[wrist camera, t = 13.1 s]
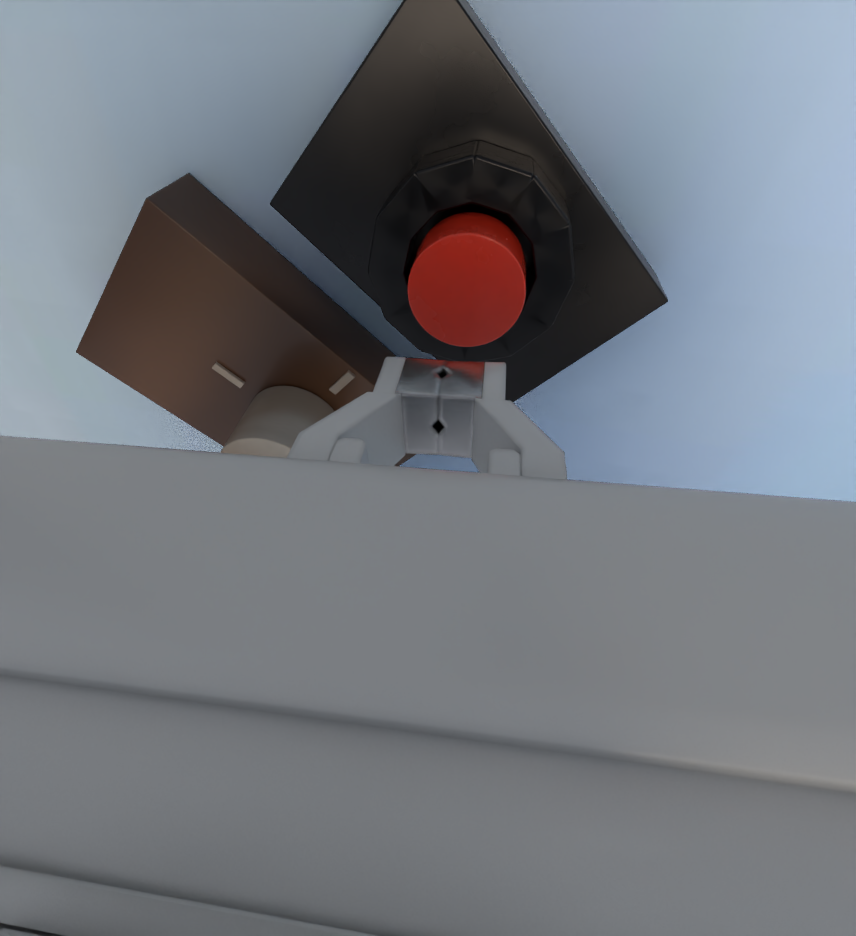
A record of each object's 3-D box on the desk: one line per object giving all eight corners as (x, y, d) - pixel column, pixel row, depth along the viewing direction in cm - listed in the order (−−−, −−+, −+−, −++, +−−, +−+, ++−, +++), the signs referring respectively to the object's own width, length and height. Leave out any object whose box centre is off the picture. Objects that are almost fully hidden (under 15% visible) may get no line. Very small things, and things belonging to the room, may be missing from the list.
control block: (656, 275, 18) (681, 327, 16) (497, 385, 23) (494, 441, 20) (439, -39, 13) (419, -44, 11) (289, 185, 18) (248, 222, 15)
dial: (280, 367, 20) (245, 425, 18) (361, 427, 22) (340, 488, 19) (234, 419, 23) (197, 476, 20) (310, 469, 25) (286, 528, 22)
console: (445, 399, 24) (438, 441, 22) (341, 475, 29) (327, 515, 27) (188, 172, 18) (143, 199, 16) (114, 318, 23) (72, 354, 21)
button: (548, 274, 15) (550, 299, 14) (466, 339, 18) (462, 366, 16) (474, 183, 14) (469, 203, 13) (393, 267, 16) (383, 291, 15)
